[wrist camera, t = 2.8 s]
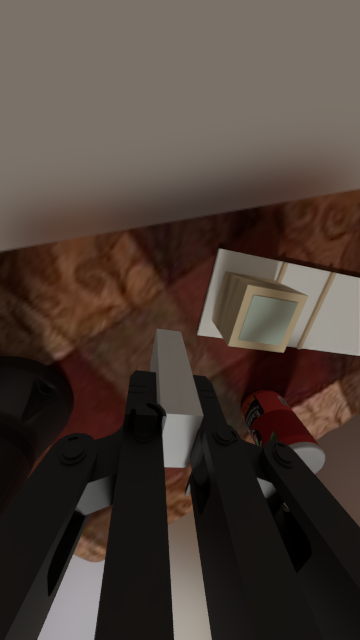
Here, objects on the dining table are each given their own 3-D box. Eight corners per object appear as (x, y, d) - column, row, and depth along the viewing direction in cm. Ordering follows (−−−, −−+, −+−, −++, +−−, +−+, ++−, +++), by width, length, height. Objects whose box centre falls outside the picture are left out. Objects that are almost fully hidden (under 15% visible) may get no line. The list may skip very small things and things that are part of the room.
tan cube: (211, 320, 31) (228, 346, 24) (225, 270, 28) (248, 285, 22) (257, 326, 32) (284, 352, 26) (274, 280, 30) (309, 296, 23)
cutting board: (196, 333, 32) (198, 336, 31) (218, 248, 28) (221, 249, 27) (364, 354, 38) (370, 358, 37) (404, 287, 33) (412, 289, 32)
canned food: (242, 389, 38) (276, 449, 28) (286, 386, 39) (334, 443, 29) (236, 422, 41) (264, 487, 31) (277, 419, 42) (317, 481, 32)
